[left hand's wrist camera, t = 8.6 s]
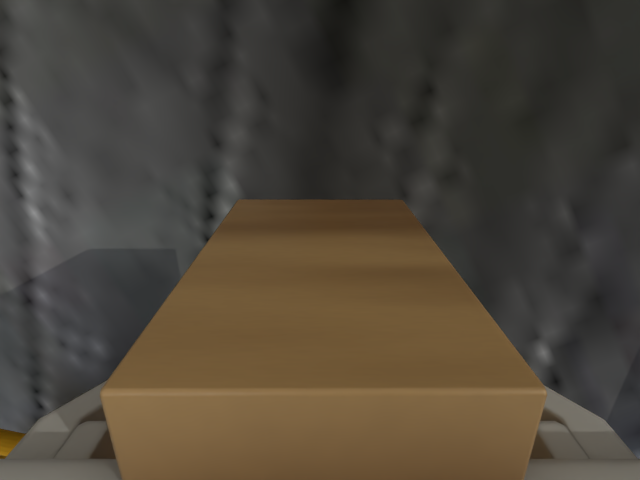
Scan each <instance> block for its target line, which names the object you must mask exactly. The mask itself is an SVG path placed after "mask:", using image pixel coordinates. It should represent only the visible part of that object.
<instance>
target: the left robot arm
mask: <svg viewBox="0 0 640 480" xmlns="http://www.w3.org/2000/svg"><path fill="white" fill-rule="evenodd" d="M105 383H106V381H105V382H103V383H102V384H100V385H98V386H96V387H94V388H93V389H91V390H89V391H87V392H86V393H84V394H82V395H80V396H79V397H77V398H75V399H73V400H72V401H70V402H68V403H66V404H65V405H63V406H61V407H59V408H58V409H56V410H54V411H52V412H51V413H49V414H47V415H45V416H44V417H42V418H40V419H38V421H37V422H36V423H35V424H34V425H33V426H32V428H31V429H30V430H29V431H28V432H27V433H26V435H25V436H24V437H23V438H22V439H21V440H20V442H19V443H18V444H17V445H16V446H15V447H14V449H13V450H12V451H11V452H10V453H9V454H8V456H7V457H6V458H5V459H0V480H122V479H121V476H120V472H119V468H118V464H117V460H116V457H115V453H114V449H113V445H112V441H111V437H110V434H109V430H108V426H107V422H106V418H105V415H104V411H103V407H102V403H101V399H100V391H101V388H102V387H103V386H104V384H105ZM544 387H545V388H546V391H547V397H546V401H545V405H544V408H543V412H542V416H541V419H540V423H539V426H538V430H537V434H536V437H535V441H534V445H533V448H532V452H531V456H530V459H529V463H528V467H527V470H526V474H525V477H524V480H640V459H638V458H637V457H636V456H635V455H634V454H633V453H632V451H631V450H630V449H629V448H628V447H627V446H626V444H625V443H624V442H623V441H622V440H621V439H620V437H619V436H618V435H617V434H616V433H615V432H614V430H613V429H612V428H611V427H610V426H609V425H608V423H607V422H606V421H605V420H604V419H602V418H600V417H598V416H597V415H595V414H593V413H591V412H590V411H588V410H586V409H584V408H583V407H581V406H579V405H577V404H576V403H574V402H572V401H570V400H569V399H567V398H565V397H563V396H562V395H560V394H558V393H556V392H554V391H553V390H551V389H549V388H547V387H546V386H544Z"/></svg>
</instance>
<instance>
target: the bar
mask: <svg viewBox="0 0 640 480" xmlns="http://www.w3.org/2000/svg"><path fill="white" fill-rule="evenodd" d="M546 397H547V391H546V388H545V387H544V385H543V384H542V383H541V381H540V380H539V379H538V377H537V376H536V375H535V373H534V372H533V371H532V370H531V368H530V367H529V366H528V364H527V363H526V362H525V360H524V359H523V358H522V356H521V355H520V354H519V352H518V351H517V350H516V349H515V347H514V346H513V345H512V343H511V342H510V341H509V339H508V338H507V337H506V335H505V334H504V333H503V331H502V330H501V329H500V328H499V326H498V325H497V324H496V322H495V321H494V320H493V318H492V317H491V316H490V314H489V313H488V312H487V310H486V309H485V308H484V307H483V305H482V304H481V303H480V301H479V300H478V299H477V297H476V296H475V295H474V293H473V292H472V291H471V289H470V288H469V287H468V285H467V284H466V283H465V282H464V280H463V279H462V278H461V276H460V275H459V274H458V272H457V271H456V270H455V268H454V267H453V266H452V264H451V263H450V262H449V261H448V259H447V258H446V257H445V255H444V254H443V253H442V251H441V250H440V249H439V247H438V246H437V245H436V243H435V242H434V241H433V240H432V238H431V237H430V236H429V234H428V233H427V232H426V230H425V229H424V228H423V226H422V225H421V224H420V222H419V221H418V220H417V219H416V217H415V216H414V215H413V213H412V212H411V211H410V209H409V208H408V207H407V205H406V204H405V203H404V201H403V200H237V202H236V203H235V205H234V206H233V207H232V209H231V210H230V212H229V213H228V214H227V216H226V217H225V218H224V220H223V221H222V223H221V224H220V225H219V227H218V228H217V230H216V231H215V232H214V234H213V235H212V236H211V238H210V239H209V241H208V242H207V243H206V245H205V246H204V247H203V249H202V250H201V252H200V253H199V254H198V256H197V257H196V259H195V260H194V261H193V263H192V264H191V265H190V267H189V268H188V270H187V271H186V272H185V274H184V275H183V276H182V278H181V279H180V281H179V282H178V283H177V285H176V286H175V288H174V289H173V290H172V292H171V293H170V294H169V296H168V297H167V299H166V300H165V301H164V303H163V304H162V305H161V307H160V308H159V310H158V311H157V312H156V314H155V315H154V317H153V318H152V319H151V321H150V322H149V323H148V325H147V326H146V328H145V329H144V330H143V332H142V333H141V335H140V336H139V337H138V339H137V340H136V341H135V343H134V344H133V346H132V347H131V348H130V350H129V351H128V352H127V354H126V355H125V357H124V358H123V359H122V361H121V362H120V364H119V365H118V366H117V368H116V369H115V370H114V372H113V373H112V375H111V376H110V377H109V379H108V380H107V381H106V383H105V384H104V386H103V387H102V388H101V391H100V399H101V403H102V407H103V411H104V415H105V418H106V422H107V426H108V430H109V434H110V437H111V441H112V445H113V449H114V453H115V457H116V460H117V464H118V468H119V472H120V476H121V479H122V480H524V477H525V474H526V470H527V467H528V463H529V459H530V456H531V452H532V448H533V445H534V441H535V437H536V434H537V430H538V426H539V423H540V419H541V416H542V412H543V408H544V405H545V401H546Z"/></svg>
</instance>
